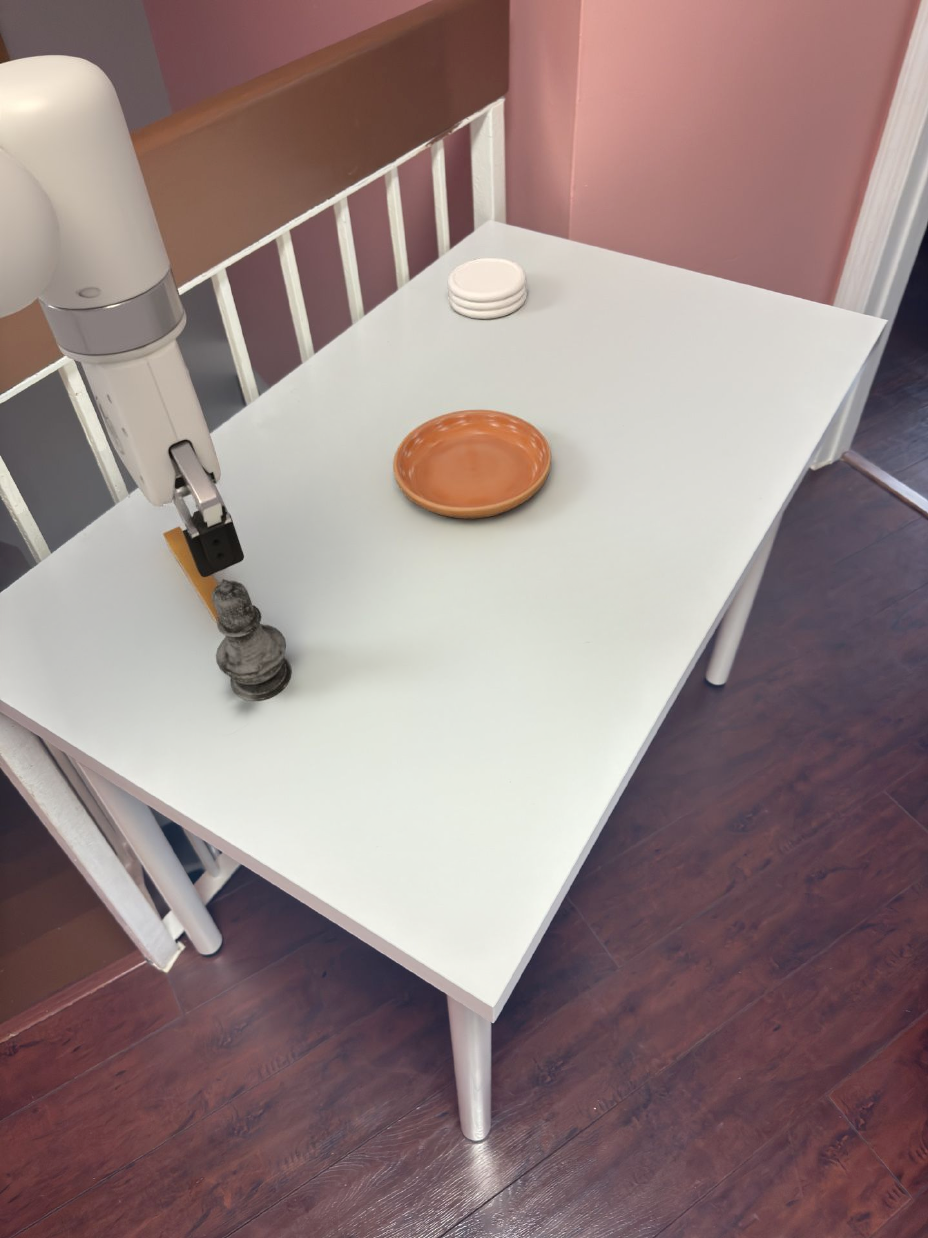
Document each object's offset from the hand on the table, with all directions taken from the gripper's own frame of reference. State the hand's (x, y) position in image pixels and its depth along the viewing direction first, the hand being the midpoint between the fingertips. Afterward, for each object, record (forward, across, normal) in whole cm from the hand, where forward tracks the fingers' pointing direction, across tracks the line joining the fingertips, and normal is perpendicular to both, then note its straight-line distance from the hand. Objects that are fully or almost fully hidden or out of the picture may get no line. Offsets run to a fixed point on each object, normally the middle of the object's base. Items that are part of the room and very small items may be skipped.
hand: (196, 528), depth 65 cm
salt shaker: (+18, 0, +1) cm, 18 cm away
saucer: (+17, -11, +30) cm, 36 cm away
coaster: (+16, -40, +51) cm, 67 cm away
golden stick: (+18, -14, +1) cm, 23 cm away
